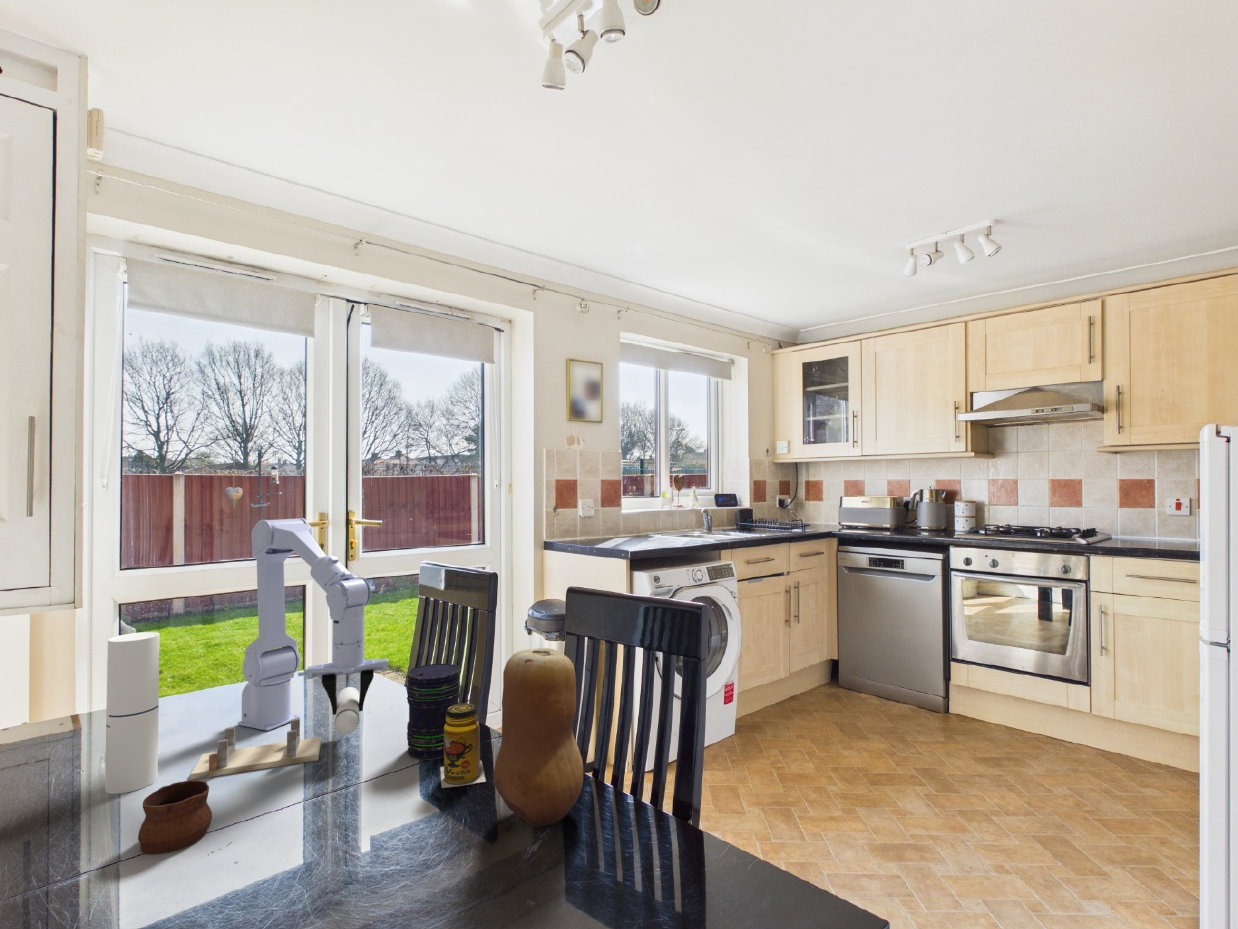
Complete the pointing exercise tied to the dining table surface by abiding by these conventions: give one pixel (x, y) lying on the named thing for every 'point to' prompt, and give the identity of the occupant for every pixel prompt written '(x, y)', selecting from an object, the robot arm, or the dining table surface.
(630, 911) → the dining table surface
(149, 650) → the cylindrical container
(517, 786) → the butternut squash
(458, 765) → the condiment
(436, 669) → the storage jar
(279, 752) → the tube stand
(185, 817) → the ceramic pot
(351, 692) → the tube
